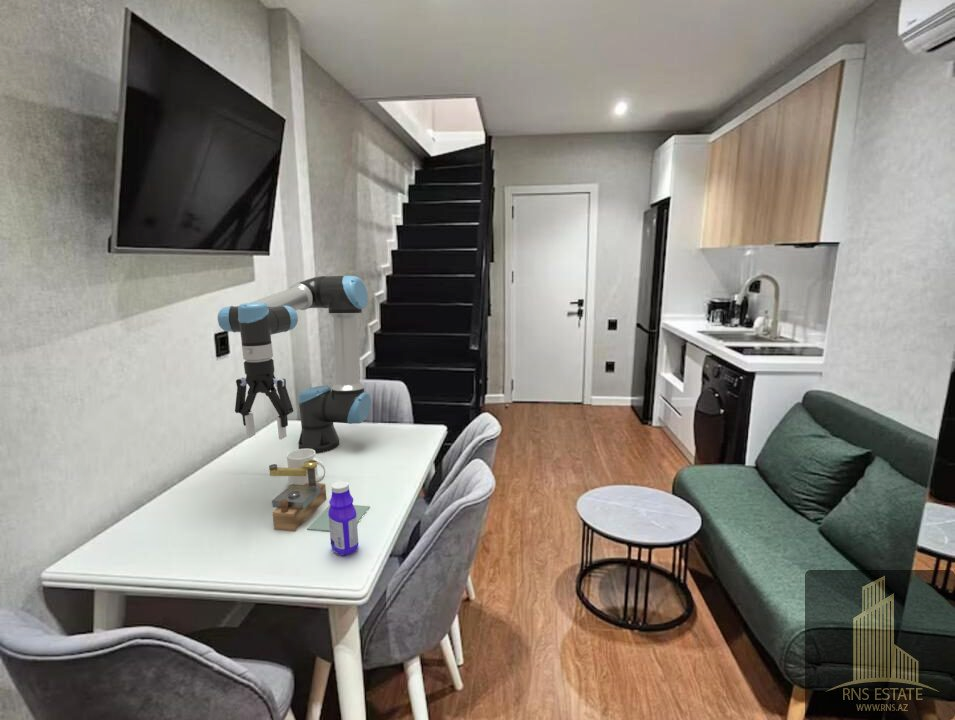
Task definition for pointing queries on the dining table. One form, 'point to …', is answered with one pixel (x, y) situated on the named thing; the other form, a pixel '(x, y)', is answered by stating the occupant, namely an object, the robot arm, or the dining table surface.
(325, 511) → the mat
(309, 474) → the plane body
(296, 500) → the grey knob plate
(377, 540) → the dining table surface
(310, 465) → the lever
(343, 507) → the bottle
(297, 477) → the mug
